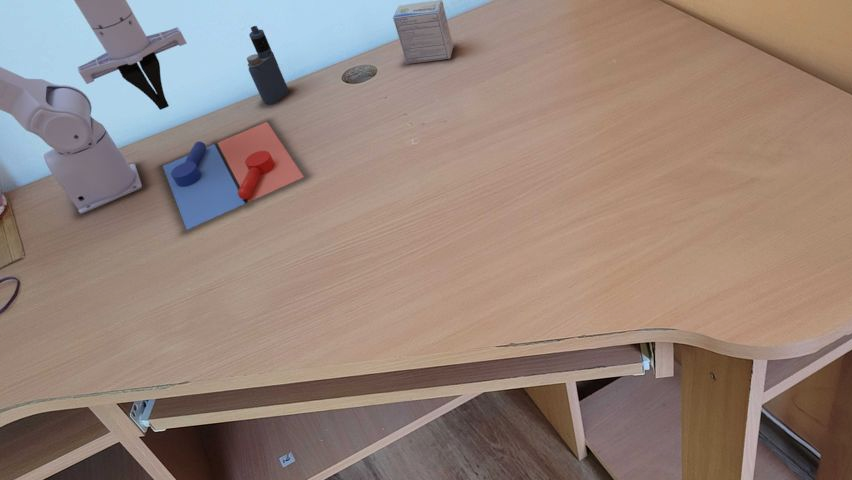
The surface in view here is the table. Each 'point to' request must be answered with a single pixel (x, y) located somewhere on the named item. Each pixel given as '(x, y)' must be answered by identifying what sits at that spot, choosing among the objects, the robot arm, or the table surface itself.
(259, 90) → the vaping device
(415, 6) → the medicine box
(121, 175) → the robot arm
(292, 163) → the sorting mat
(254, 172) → the red spoon
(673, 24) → the table surface
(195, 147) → the blue spoon
